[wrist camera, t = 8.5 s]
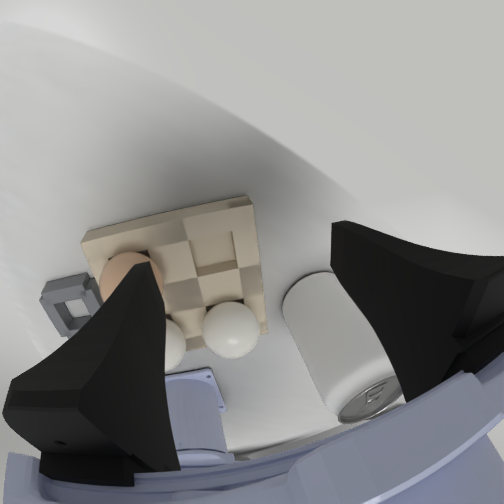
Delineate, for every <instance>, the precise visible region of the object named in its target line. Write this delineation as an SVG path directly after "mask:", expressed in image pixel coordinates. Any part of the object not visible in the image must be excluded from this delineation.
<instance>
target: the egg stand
mask: <svg viewBox="0 0 504 504" xmlns="http://www.w3.org/2000/svg"><path fill="white" fill-rule="evenodd" d="M41 294H42V296H41V298H40V300H39V301H40V303H41V305H42V306H43V308H44V310H45V311H46V313H47V315H48V316H49V318H50V320H51V321H52V323H53V324H54V326H55V328H56V329H57V331H58V332H59V334H60V335H61V337H66V336H67V337H68V339H70V338H71V337H72V336H73V335H74V334H75V333H77V332H78V331H79V330H80V329H81V328H82V327H83V326H84V325H85V324H86V323H87V322H88V321H89V320H90V318H91V317H92V316H93V315H94V314H95V313H96V312H97V311H98V309H99V308H100V307H101V306H102V305H103V303H104V302H103V300H102V297H101V295H100V290H99V286H98V284H97V282H96V279H95V278H92V279H90V278H89V276H88V274H87V273H84V274H79V275H75V276H71V277H66V278H62V279H58V280H54V281H50V282H47V283H46V285H45V287H44V289H43V291H42V293H41ZM81 298H82V299H83V301H84V303H85V305H86V307H87V309H88V311H89V313H90V314H91V315H90V316H85V317H79V318H72V316H71V314H70V313H69V311H68V309H67V307H66V305H65V304H64V302H66V301H71V300H76V299H81Z"/></svg>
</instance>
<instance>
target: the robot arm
mask: <svg viewBox="0 0 504 504" xmlns="http://www.w3.org/2000/svg"><path fill="white" fill-rule="evenodd" d="M330 266H331V268H332V270H333V271H334V273H335V275H336V277H337V279H338V281H339V282H340V284H341V285H342V287H343V288H344V290H345V291H346V292H347V294H348V295H349V296H350V298H351V299H352V300H353V302H354V303H355V304H356V306H357V307H358V308H359V310H360V311H361V312H362V314H363V315H364V316H365V318H366V319H367V320H368V322H369V323H370V325H371V326H372V328H373V329H374V331H375V333H376V335H377V337H378V339H379V340H380V342H381V344H382V346H383V348H384V350H385V352H386V354H387V356H388V358H389V360H390V362H391V364H392V367H393V369H394V372H395V374H396V376H397V379H398V381H399V384H400V386H401V389H402V392H403V395H404V398H405V401H406V404H404V405H402V406H400V407H398V408H396V409H394V410H392V411H390V412H388V413H386V414H384V415H381V416H379V417H377V418H375V419H373V420H370V421H368V422H366V423H364V424H361V425H359V426H356V427H354V428H352V429H349V430H347V431H344V432H341V433H339V434H336V435H334V436H331V437H328V438H325V439H323V440H319V441H316V442H313V443H310V444H307V445H305V446H301V447H298V448H294V449H291V450H287V451H284V452H280V453H276V454H273V455H268V456H264V457H260V458H256V459H251V460H247V461H242V462H241V461H235V459H234V455H233V453H228V450H227V446H226V441H225V436H224V432H223V427H222V422H221V417H220V413H222V412H225V411H226V410H227V409H226V406H225V403H224V401H223V398H222V396H221V393H220V391H219V388H218V385H217V383H216V380H215V378H214V375H213V372H212V370H211V369H202V370H197V371H191V372H186V373H180V374H174V375H168V376H165V347H166V314H165V303H164V300H163V297H162V295H161V292H160V289H159V286H158V284H157V281H156V278H155V275H154V272H153V269H152V266H151V264H150V261H147V262H143V263H138V264H134V266H133V267H132V268H131V269H130V270H129V271H128V273H127V274H126V275H125V277H124V278H123V279H122V281H121V282H120V283H119V284H118V286H117V287H116V288H115V290H114V291H113V292H112V294H111V295H110V296H109V297H108V298H107V300H106V301H105V302H104V303H103V305H102V306H101V307H100V308H99V309H98V311H97V312H96V313H95V314H94V315H93V316H92V317H91V318H90V320H89V321H88V322H87V323H86V324H85V325H84V326H83V327H82V328H81V329H80V330H79V331H78V332H77V333H75V334H74V335H73V336H72V337H71V338H70V339H69V340H67V341H66V342H65V343H64V344H63V345H62V346H61V347H60V348H58V349H57V350H56V351H54V352H53V353H52V354H51V355H49V356H48V357H47V358H45V359H44V360H42V361H41V362H40V363H38V364H37V365H35V366H34V367H32V368H30V369H29V370H27V371H26V372H24V373H22V374H21V375H19V376H17V377H16V378H14V379H12V381H11V384H10V387H9V391H8V394H7V397H6V401H5V404H4V408H3V412H2V414H3V417H4V419H5V421H6V422H7V424H8V425H9V426H10V427H11V428H12V429H13V430H14V431H15V432H16V433H17V434H19V435H20V436H21V437H22V438H24V439H25V440H26V441H28V442H29V443H30V444H31V445H33V446H34V447H36V448H37V449H38V450H40V451H41V459H38V458H35V457H32V456H29V455H23V454H18V453H13V452H9V453H8V458H7V466H6V473H5V483H4V496H3V504H504V462H503V460H502V458H501V457H500V455H499V453H498V452H497V450H496V449H495V447H494V445H493V444H492V442H491V441H490V439H489V438H488V436H487V433H488V432H489V431H490V430H492V429H493V428H494V427H495V426H496V425H497V424H498V423H499V422H500V421H501V420H502V419H503V418H504V256H478V255H467V254H460V253H452V252H447V251H442V250H437V249H433V248H429V247H425V246H421V245H418V244H414V243H411V242H408V241H405V240H402V239H399V238H396V237H393V236H390V235H387V234H385V233H382V232H379V231H377V230H374V229H371V228H368V227H366V226H363V225H360V224H357V223H354V222H350V221H346V220H344V221H339V222H334V223H332V231H331V262H330Z"/></svg>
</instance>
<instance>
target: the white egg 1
mask: <svg viewBox="0 0 504 504" xmlns="http://www.w3.org/2000/svg"><path fill="white" fill-rule="evenodd" d="M185 351H186V341H185V337H184V334H183V332H182V331H181V329H180V328H179V327H178V326H177V325H176V324H175V323H174V322H173V321H171V320H169V319H167V318H166V347H165V372H167V371H170V370H172V369H174V368H175V367H177V366H178V365H179V364H180V362H181V361H182V359H183V357H184V355H185Z"/></svg>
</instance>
